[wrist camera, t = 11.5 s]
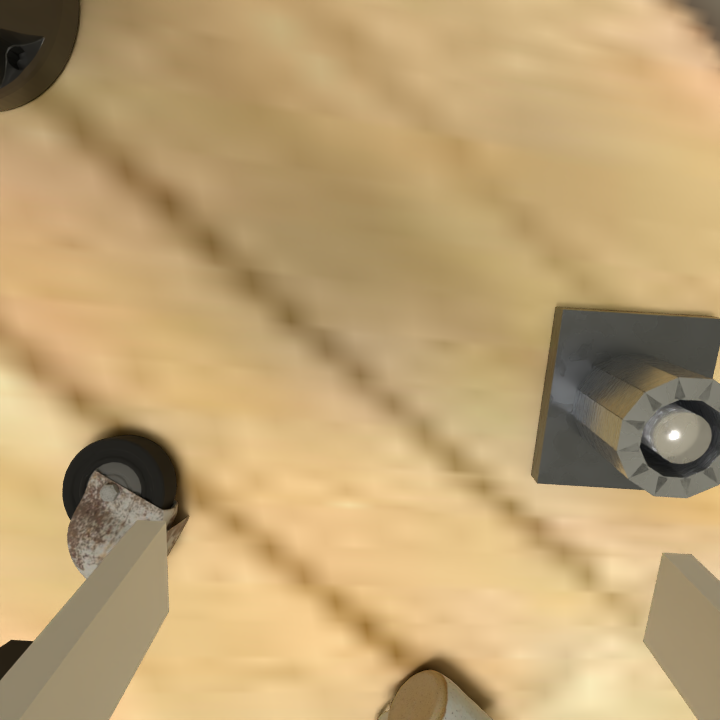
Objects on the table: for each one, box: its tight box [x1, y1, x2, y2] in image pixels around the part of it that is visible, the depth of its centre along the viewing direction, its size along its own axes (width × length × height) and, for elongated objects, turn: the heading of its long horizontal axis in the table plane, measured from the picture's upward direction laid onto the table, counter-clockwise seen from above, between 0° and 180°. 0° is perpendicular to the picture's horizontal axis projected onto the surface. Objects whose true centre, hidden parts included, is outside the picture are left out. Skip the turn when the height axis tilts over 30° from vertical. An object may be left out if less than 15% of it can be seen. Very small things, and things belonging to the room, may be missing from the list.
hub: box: [573, 354, 720, 498], centre depth 35 cm, size 8×8×7 cm
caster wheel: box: [63, 435, 189, 579], centre depth 40 cm, size 7×11×10 cm
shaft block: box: [531, 307, 720, 490], centre depth 35 cm, size 14×12×8 cm
